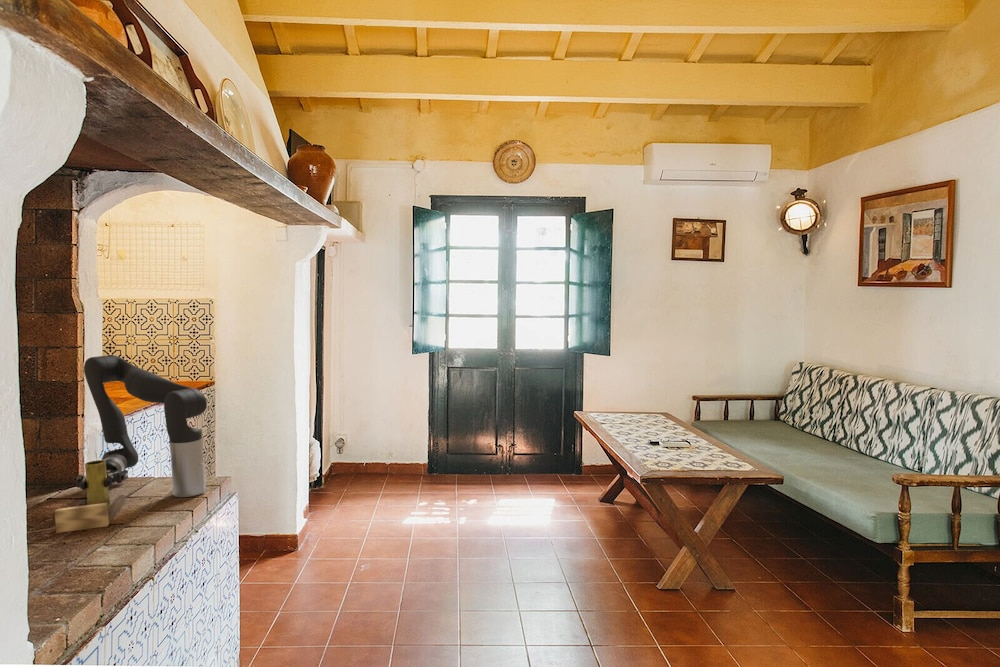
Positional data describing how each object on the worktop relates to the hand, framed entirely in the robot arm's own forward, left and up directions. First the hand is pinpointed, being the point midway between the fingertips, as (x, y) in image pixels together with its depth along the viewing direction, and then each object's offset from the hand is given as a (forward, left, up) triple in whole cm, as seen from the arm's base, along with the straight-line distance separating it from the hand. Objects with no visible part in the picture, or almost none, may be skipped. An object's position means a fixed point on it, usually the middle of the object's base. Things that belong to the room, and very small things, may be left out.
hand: (94, 485), depth 190 cm
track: (0, +4, -8) cm, 9 cm away
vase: (0, -3, -8) cm, 9 cm away
